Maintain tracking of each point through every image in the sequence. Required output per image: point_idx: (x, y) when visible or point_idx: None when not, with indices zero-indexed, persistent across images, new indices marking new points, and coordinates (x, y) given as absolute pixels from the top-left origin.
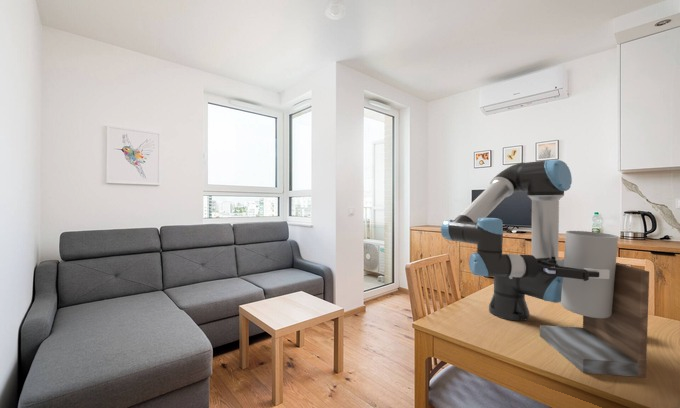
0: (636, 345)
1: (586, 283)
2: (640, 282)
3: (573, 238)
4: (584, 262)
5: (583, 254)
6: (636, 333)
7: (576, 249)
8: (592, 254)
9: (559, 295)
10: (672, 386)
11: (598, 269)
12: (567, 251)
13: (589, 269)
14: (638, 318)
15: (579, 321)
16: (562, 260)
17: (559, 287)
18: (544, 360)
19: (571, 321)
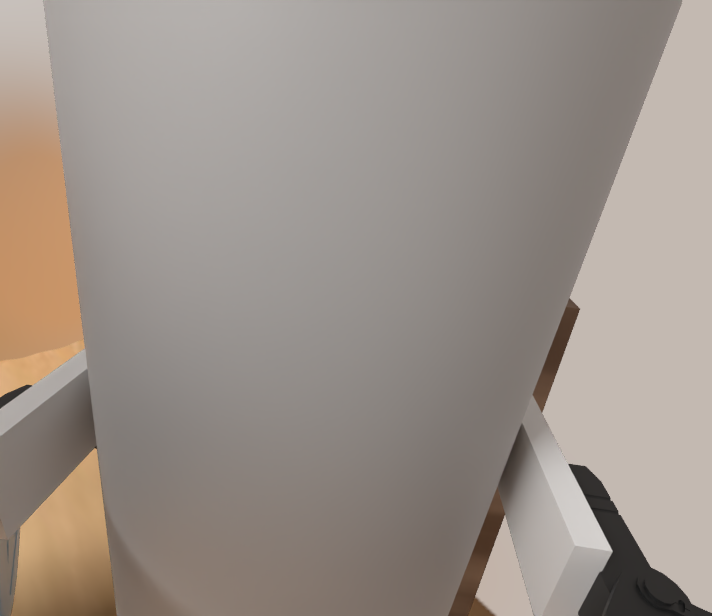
0: (461, 602)
1: (453, 597)
2: (556, 369)
3: (463, 17)
4: (502, 435)
5: (532, 341)
6: (469, 567)
7: (475, 288)
8: (567, 300)
9: (9, 590)
10: (479, 604)
11: (550, 432)
12: (260, 352)
13: (586, 507)
14: (495, 518)
15: (48, 500)
16: (37, 418)
17: (2, 561)
18: None
19: (25, 530)
